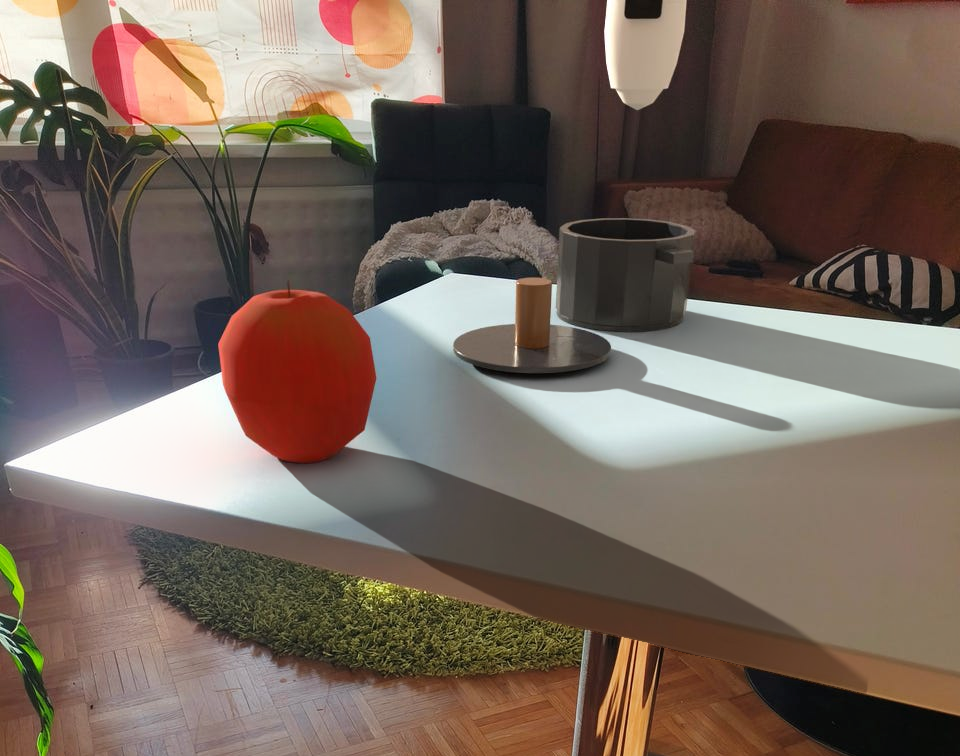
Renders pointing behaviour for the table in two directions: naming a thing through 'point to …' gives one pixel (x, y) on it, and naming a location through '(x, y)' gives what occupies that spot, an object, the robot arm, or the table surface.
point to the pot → (624, 273)
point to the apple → (298, 374)
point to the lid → (532, 338)
